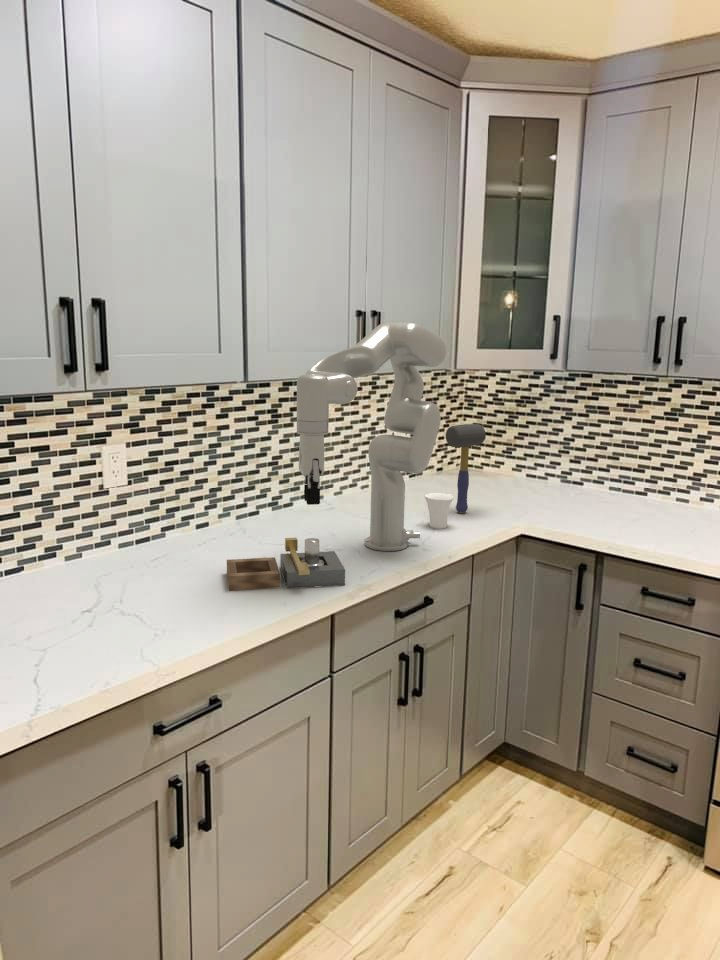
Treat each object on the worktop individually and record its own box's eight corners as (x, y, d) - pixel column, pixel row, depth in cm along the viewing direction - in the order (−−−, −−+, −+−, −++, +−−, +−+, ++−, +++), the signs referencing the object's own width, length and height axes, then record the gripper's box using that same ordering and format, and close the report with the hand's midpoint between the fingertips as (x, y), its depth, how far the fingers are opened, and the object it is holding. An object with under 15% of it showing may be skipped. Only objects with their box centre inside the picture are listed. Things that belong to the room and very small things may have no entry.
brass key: (298, 548, 185) (298, 537, 184) (309, 574, 166) (309, 562, 166) (284, 549, 184) (284, 538, 184) (295, 575, 166) (295, 563, 165)
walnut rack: (274, 570, 181) (274, 557, 180) (280, 587, 170) (280, 573, 169) (226, 573, 179) (226, 559, 178) (229, 590, 167) (228, 576, 166)
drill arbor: (321, 572, 181) (322, 536, 179) (325, 580, 175) (326, 543, 173) (298, 573, 180) (298, 537, 177) (301, 581, 174) (301, 544, 172)
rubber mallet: (454, 517, 233) (459, 426, 227) (440, 512, 239) (444, 423, 233) (482, 512, 240) (488, 424, 233) (468, 507, 246) (472, 421, 240)
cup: (457, 529, 220) (459, 497, 218) (429, 530, 218) (430, 499, 216) (447, 521, 229) (448, 491, 227) (419, 522, 227) (420, 492, 224)
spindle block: (334, 565, 186) (334, 551, 185) (345, 585, 172) (345, 569, 171) (280, 568, 182) (280, 553, 182) (287, 588, 169) (287, 572, 168)
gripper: (292, 422, 176) (292, 494, 180) (301, 432, 161) (301, 511, 165) (322, 422, 178) (321, 493, 182) (334, 432, 162) (333, 510, 166)
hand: (312, 501), depth 173 cm, fingers closed
